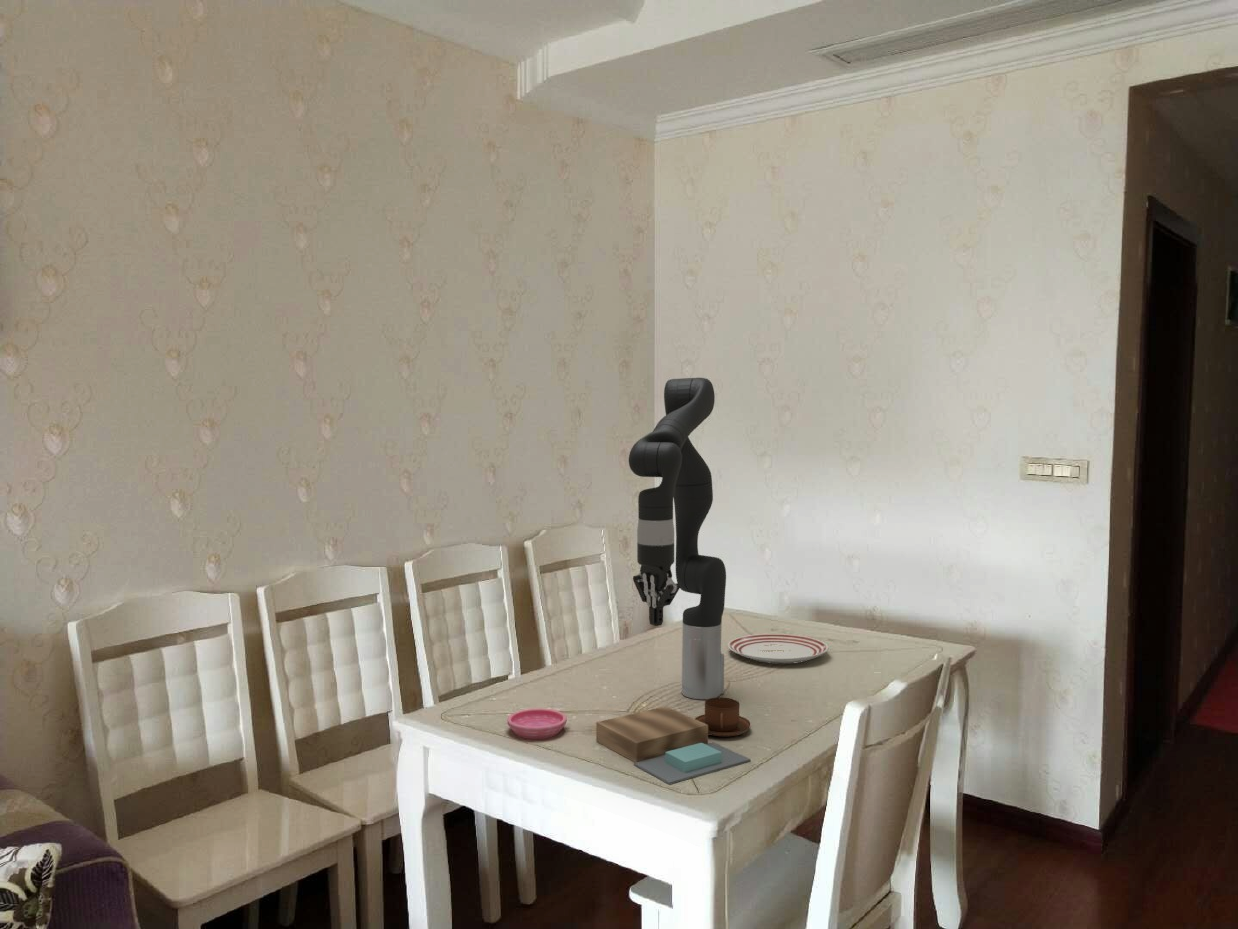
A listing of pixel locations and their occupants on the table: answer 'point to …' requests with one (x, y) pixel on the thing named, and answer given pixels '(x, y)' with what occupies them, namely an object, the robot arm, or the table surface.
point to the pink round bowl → (537, 723)
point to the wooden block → (650, 733)
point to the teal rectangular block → (693, 757)
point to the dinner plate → (778, 647)
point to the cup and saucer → (723, 717)
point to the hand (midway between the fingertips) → (656, 624)
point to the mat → (673, 774)
